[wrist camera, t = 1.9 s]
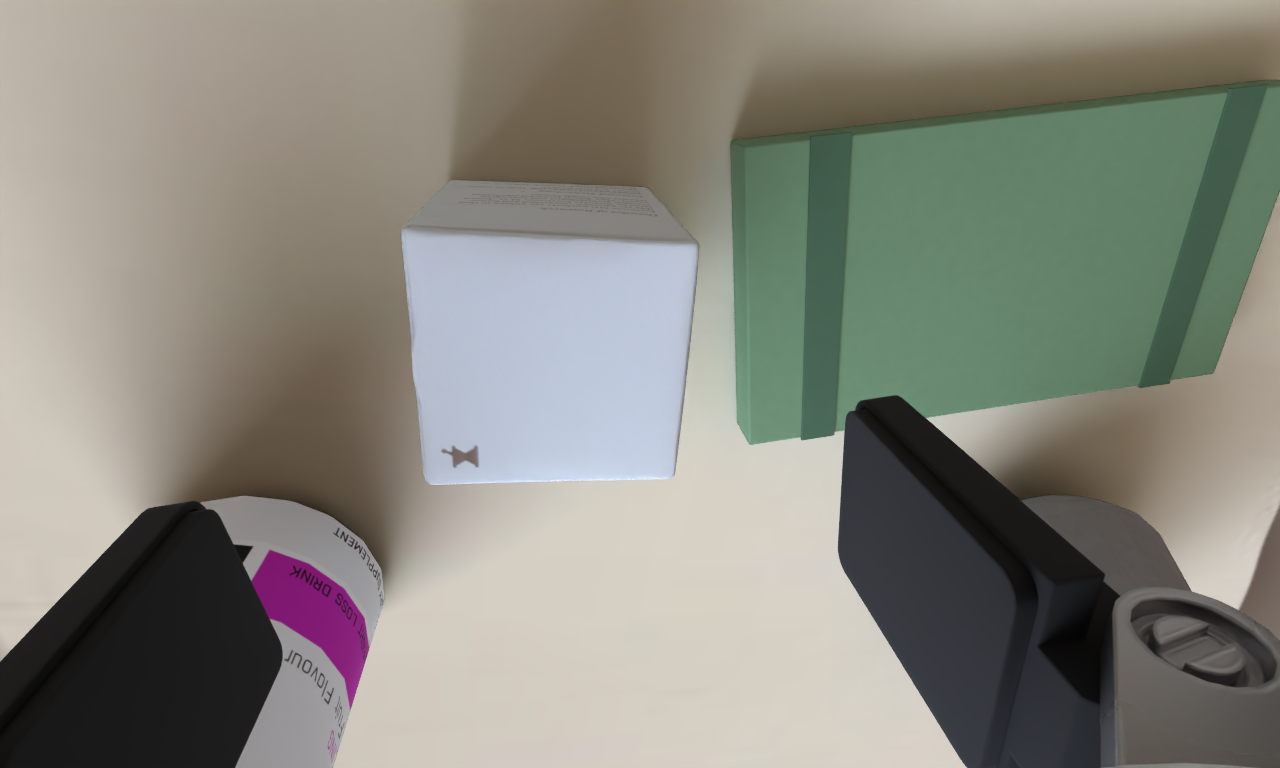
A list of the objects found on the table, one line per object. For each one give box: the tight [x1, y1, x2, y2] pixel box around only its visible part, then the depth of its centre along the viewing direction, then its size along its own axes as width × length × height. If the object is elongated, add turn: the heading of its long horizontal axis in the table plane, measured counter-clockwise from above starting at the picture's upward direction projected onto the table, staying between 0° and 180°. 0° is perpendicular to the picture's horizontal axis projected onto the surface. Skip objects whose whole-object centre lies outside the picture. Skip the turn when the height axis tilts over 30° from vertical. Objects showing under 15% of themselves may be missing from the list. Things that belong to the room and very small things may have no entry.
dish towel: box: [731, 80, 1280, 445], centre depth 21 cm, size 10×18×2 cm, turn 95°
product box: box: [401, 180, 699, 485], centre depth 17 cm, size 6×6×7 cm
